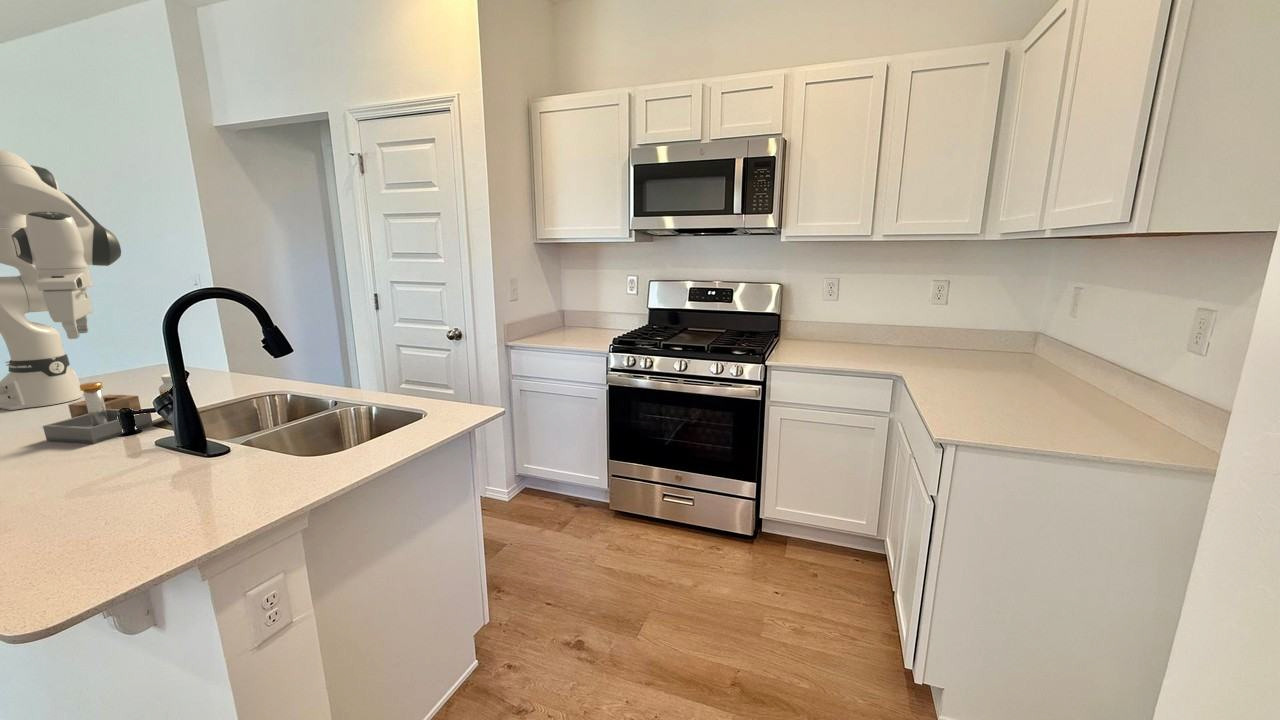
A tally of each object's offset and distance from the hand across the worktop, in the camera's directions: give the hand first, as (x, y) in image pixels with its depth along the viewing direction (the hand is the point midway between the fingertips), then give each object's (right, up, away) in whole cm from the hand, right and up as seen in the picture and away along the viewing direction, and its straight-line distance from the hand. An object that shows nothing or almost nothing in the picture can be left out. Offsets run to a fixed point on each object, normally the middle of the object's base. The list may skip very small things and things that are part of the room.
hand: (78, 335), depth 130 cm
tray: (0, -25, +6) cm, 26 cm away
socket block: (-11, -22, +18) cm, 31 cm away
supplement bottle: (+11, -23, +17) cm, 31 cm away
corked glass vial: (0, -24, +5) cm, 25 cm away
